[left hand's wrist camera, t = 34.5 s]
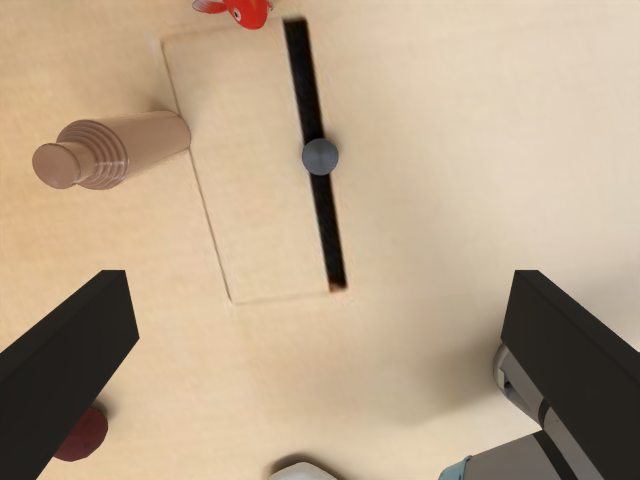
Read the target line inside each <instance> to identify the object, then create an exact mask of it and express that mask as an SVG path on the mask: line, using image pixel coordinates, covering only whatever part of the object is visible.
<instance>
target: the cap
mask: <svg viewBox="0 0 640 480" xmlns="http://www.w3.org/2000/svg"><path fill="white" fill-rule="evenodd" d="M302 161H303V164H304V166H305V167H306V169H307V170H308V171H309V172H311V173H313V174H316V175H325V174H328V173H330V172H331V171H332V170H333V169H334V168H335V167H336V165H337V162H338V151H337V148H336V146H335V144H334V143H333V142H332V141H331V140H329V139H328V138H325V137H315V138H313V139H311V140H310V141H308V142H307V144H306V145H305V147H304V149H303V153H302Z"/></svg>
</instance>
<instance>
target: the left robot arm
mask: <svg viewBox="0 0 640 480" xmlns="http://www.w3.org/2000/svg"><path fill="white" fill-rule="evenodd" d="M138 340H139V333H138V329H137V324H136V319H135V315H134V310H133V305H132V301H131V296H130V291H129V287H128V282H127V277H126V273H125V270H102V271H100V272H99V273H98V274H97V275H96V276H94V277H93V278H92V279H91V280H89V281H88V282H87V283H86V284H85V285H83V286H82V287H81V288H80V289H78V290H77V291H76V292H75V293H73V294H72V295H71V296H70V297H69V298H67V299H66V300H65V301H64V302H62V303H61V304H60V305H59V306H58V307H56V308H55V309H54V310H53V311H51V312H50V313H49V314H48V315H47V316H45V317H44V318H43V319H42V320H40V321H39V322H38V323H37V324H36V325H34V326H33V327H32V328H31V329H29V330H28V331H27V332H26V333H25V334H23V335H22V336H21V337H20V338H18V339H17V340H16V341H15V342H14V343H12V344H11V345H10V346H9V347H7V348H6V349H5V350H4V351H3V352H1V353H0V480H36V479H37V478H38V476H39V475H40V473H41V472H42V471H43V469H44V468H45V467H46V465H47V464H48V463H49V461H50V460H51V458H52V457H53V456H54V454H55V453H56V452H57V450H58V449H59V448H60V446H61V445H62V443H63V442H64V441H65V439H66V438H67V437H68V435H69V434H70V433H71V431H72V430H73V428H74V427H75V426H76V424H77V423H78V422H79V420H80V419H81V418H82V416H83V415H84V413H85V412H86V411H87V409H88V408H89V407H90V405H91V404H92V402H93V401H94V400H95V398H96V397H97V396H98V394H99V393H100V392H101V390H102V389H103V387H104V386H105V385H106V383H107V382H108V381H109V379H110V378H111V377H112V375H113V374H114V372H115V371H116V370H117V368H118V367H119V366H120V364H121V363H122V362H123V360H124V359H125V357H126V356H127V355H128V353H129V352H130V351H131V349H132V348H133V347H134V345H135V344H136V342H137V341H138ZM501 340H502V341H503V342H504V343H503V344H502V345H501V347H500V349H499V350H498V352H497V355H496V357H495V361H494V376H495V380H496V382H497V384H498V386H499V387H500V389H501V390H502V392H503V394H504V395H505V396H506V398H507V399H508V400H510V401H511V402H512V403H513V404H514V405H516V406H517V407H518V408H519V409H520V410H522V411H523V412H524V413H525V414H527V415H528V416H529V417H530V418H532V419H533V420H534V421H535V422H537V423H538V424H539V425H540V426H541V428H542V429H543V430H540V431H538V432H535V433H533V434H530V435H527V436H524V437H522V438H519V439H516V440H514V441H511V442H508V443H506V444H503V445H500V446H498V447H495V448H493V449H490V450H487V451H485V452H482V453H479V454H477V455H474V456H471V455H469V456H467V457H466V458H464V460H463V461H461V462H459V463H456V464H454V465H452V466H450V467H448V468H446V469H444V470H443V471H442V472H441V474H440V476H439V479H438V480H640V352H637V351H636V350H635V349H634V348H633V347H631V346H630V345H629V344H628V343H626V342H625V341H624V340H623V339H622V338H620V337H619V336H618V335H617V334H615V333H614V332H613V331H612V330H611V329H609V328H608V327H607V326H606V325H604V324H603V323H602V322H601V321H600V320H598V319H597V318H596V317H595V316H593V315H592V314H591V313H590V312H589V311H587V310H586V309H585V308H584V307H582V306H581V305H580V304H579V303H578V302H576V301H575V300H574V299H573V298H571V297H570V296H569V295H568V294H567V293H565V292H564V291H563V290H562V289H560V288H559V287H558V286H557V285H555V284H554V283H553V282H552V281H551V280H549V279H548V278H547V277H546V276H544V275H543V274H542V273H541V272H540V271H538V270H515V273H514V277H513V282H512V287H511V291H510V296H509V301H508V305H507V310H506V315H505V319H504V324H503V329H502V333H501Z"/></svg>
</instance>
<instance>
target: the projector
mask: <svg viewBox="0 0 640 480" xmlns="http://www.w3.org/2000/svg"><path fill="white" fill-rule="evenodd" d="M268 480H337V479H336V478H334V477H333V476H331V475H330V474H328V473H327V472H325V471H323V470H322V469H320V468H318V467H316V466H314V465H312V464H310V463H306V462H301V463H297V464H295V465H292V466H289V467H287V468H284V469H282V470H280V471H278V472H276V473H274V474H272V475H271V476H270V477H269V478H268Z"/></svg>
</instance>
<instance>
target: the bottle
mask: <svg viewBox="0 0 640 480" xmlns="http://www.w3.org/2000/svg"><path fill="white" fill-rule="evenodd" d="M190 142H191V135H190V130H189V128H188V126H187V124H186V123H185V121H184V120H183V119H182V118H181V117H180V116H179V115H177V114H175V113H173V112H170V111H166V110H161V111H153V112H144V113H135V114H127V115H118V116H109V117H101V118H92V119H84V120H78V121H75V122H72V123H70V124H69V125H68V126H67V127H65V128H64V129H63V130H62V131H61V132H60V134H59V136H58V138H57V141H56V143H48V144H44V145H42V146H40V147H39V148H38V149H37V150H36V151H35V153H34V155H33V158H32V164H33V169H34V171H35V173H36V175H37V176H38V177H39V178H40V179H41V180H42V181H43V182H44V183H45V184H47V185H49V186H51V187H53V188H57V189H66V188H69V187H72V186H74V185H76V184H78V185H80V186H82V187H85V188H88V189H93V190H108V189H112V188H114V187H116V186H118V185H121V184H123V183H125V182H127V181H129V180H131V179H133V178H136V177H138V176H140V175H142V174H144V173H146V172H149V171H151V170H153V169H155V168H157V167H159V166H162V165H164V164H166V163H168V162H170V161H172V160H174V159H177V158H179V157H181V156H182V155H184V154H185V153H186V152H187V150H188V148H189V146H190Z"/></svg>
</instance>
